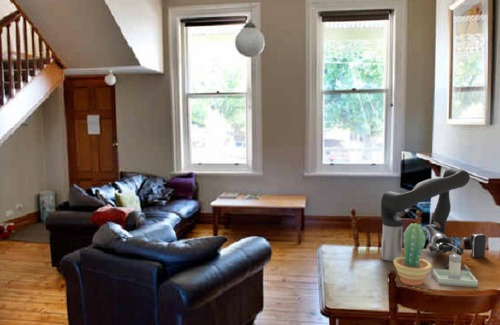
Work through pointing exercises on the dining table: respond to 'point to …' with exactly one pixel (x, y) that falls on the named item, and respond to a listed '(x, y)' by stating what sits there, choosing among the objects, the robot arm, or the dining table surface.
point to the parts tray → (465, 280)
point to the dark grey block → (478, 245)
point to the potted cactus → (413, 256)
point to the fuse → (454, 266)
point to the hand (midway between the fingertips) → (449, 253)
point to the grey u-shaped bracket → (464, 268)
